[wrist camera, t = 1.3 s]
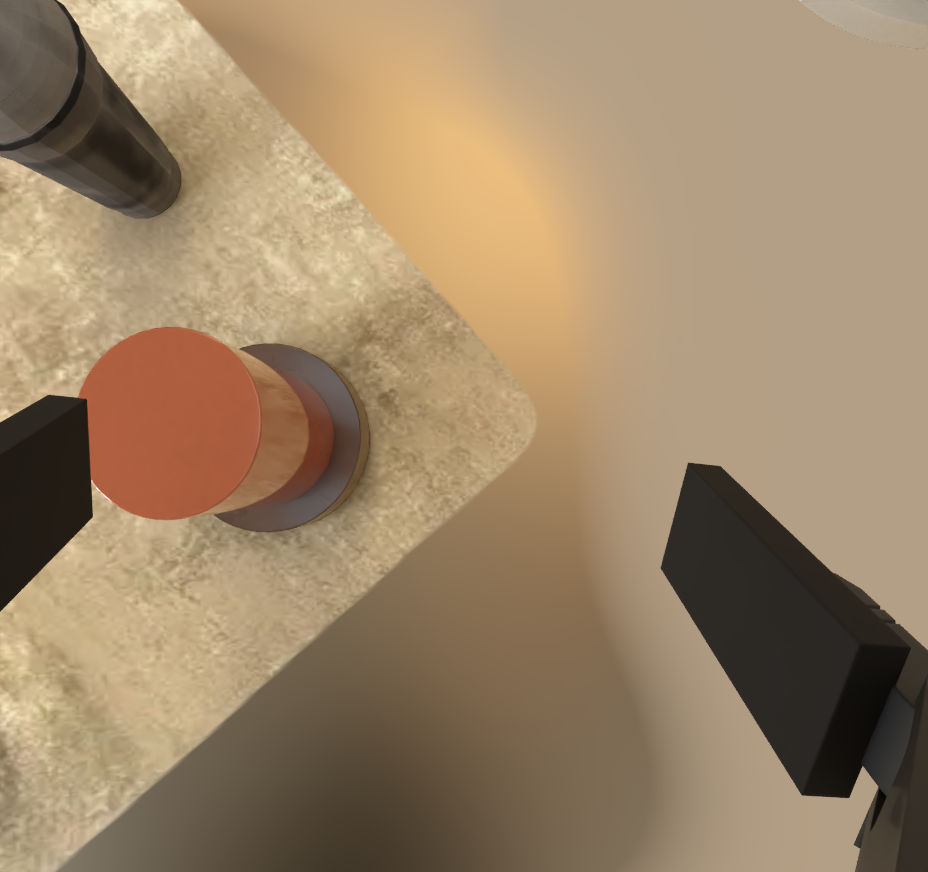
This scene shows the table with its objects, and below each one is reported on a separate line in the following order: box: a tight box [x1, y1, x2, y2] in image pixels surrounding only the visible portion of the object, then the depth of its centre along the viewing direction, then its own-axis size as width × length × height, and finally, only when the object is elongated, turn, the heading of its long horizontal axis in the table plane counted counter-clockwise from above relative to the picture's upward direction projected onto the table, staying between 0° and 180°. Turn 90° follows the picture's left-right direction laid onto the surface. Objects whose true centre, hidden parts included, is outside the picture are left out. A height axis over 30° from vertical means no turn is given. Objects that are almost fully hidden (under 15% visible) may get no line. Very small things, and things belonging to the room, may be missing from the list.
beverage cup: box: [0, 0, 181, 218], centre depth 31 cm, size 7×7×20 cm
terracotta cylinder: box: [78, 327, 334, 520], centre depth 31 cm, size 7×7×11 cm
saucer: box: [213, 344, 370, 532], centre depth 38 cm, size 10×10×2 cm
